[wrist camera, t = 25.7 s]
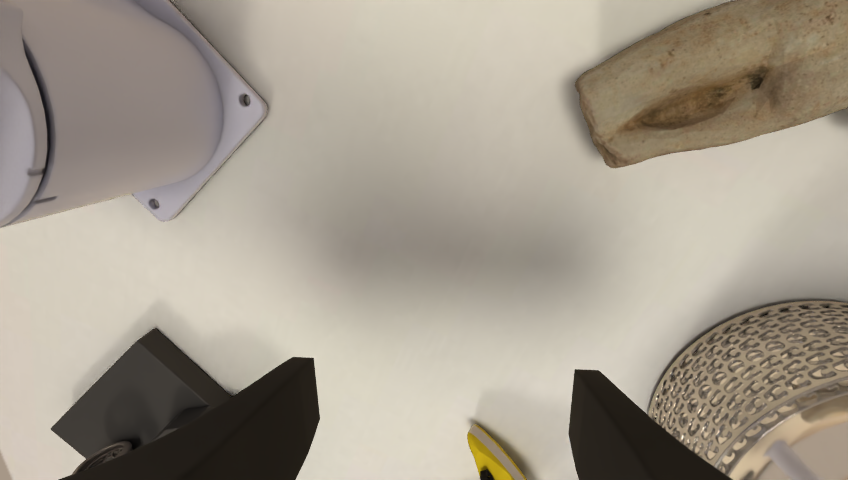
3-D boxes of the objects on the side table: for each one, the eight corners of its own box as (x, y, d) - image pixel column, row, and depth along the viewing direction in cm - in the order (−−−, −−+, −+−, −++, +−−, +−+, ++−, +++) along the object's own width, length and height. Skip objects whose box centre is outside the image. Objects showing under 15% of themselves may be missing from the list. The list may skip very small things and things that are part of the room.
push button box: (70, 412, 26) (21, 450, 23) (163, 319, 23) (120, 349, 21) (196, 517, 28) (164, 565, 25) (296, 441, 25) (274, 484, 22)
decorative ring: (116, 470, 25) (70, 516, 22) (100, 444, 25) (51, 488, 22) (157, 462, 25) (115, 508, 22) (141, 435, 24) (97, 479, 21)
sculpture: (596, 208, 20) (1014, 85, 16) (619, 235, 16) (1211, 73, 11) (552, 53, 19) (998, -125, 15) (564, 32, 14) (1212, -232, 10)
